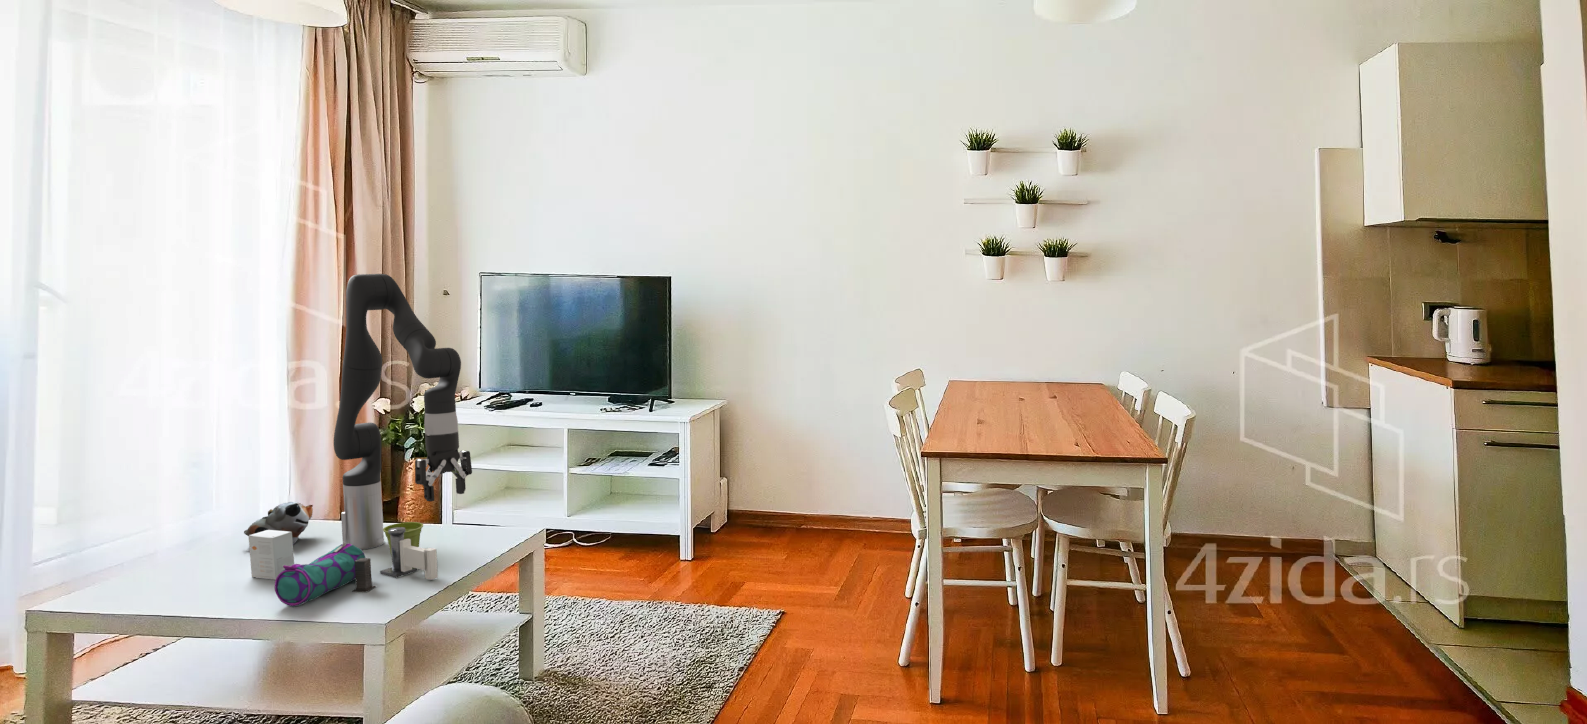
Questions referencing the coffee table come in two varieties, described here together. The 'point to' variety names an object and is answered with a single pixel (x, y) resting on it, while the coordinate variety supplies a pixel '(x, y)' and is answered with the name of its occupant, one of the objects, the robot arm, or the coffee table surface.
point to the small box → (270, 553)
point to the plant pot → (407, 532)
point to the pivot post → (396, 554)
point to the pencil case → (317, 575)
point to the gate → (418, 559)
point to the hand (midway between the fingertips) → (445, 497)
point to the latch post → (363, 575)
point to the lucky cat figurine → (284, 519)
